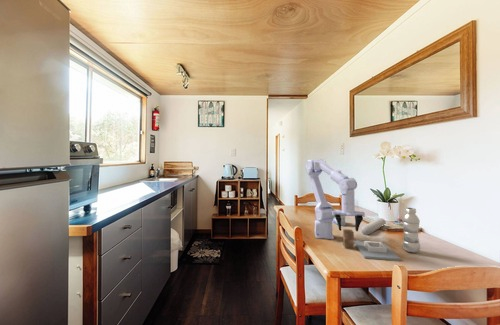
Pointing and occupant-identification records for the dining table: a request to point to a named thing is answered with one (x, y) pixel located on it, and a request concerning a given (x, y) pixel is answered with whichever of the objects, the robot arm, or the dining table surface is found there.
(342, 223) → the medicine box
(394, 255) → the dock board
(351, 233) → the walnut block
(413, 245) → the plastic bottle
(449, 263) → the dining table surface
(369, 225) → the tube
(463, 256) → the dining table surface
